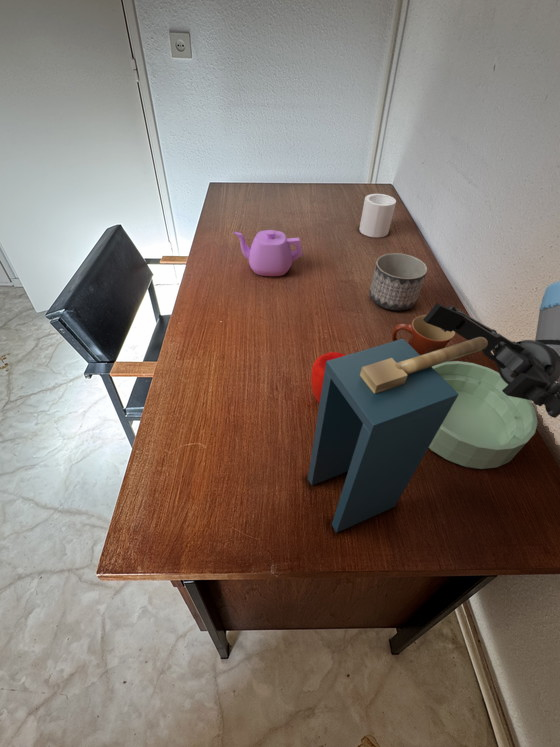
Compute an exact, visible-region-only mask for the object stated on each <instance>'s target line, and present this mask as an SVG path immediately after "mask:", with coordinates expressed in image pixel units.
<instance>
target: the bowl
mask: <svg viewBox="0 0 560 747" xmlns="http://www.w3.org/2000/svg"><path fill="white" fill-rule="evenodd" d="M432 368H433V369H434V370H435V371H436V372H437V373H438V374H439V375H440V376H441V377H442V378H443V379H444V380H445V381H446V382H447V383H448V384H449V385H450V386H451V387H452V388H453V389H454V390H455V391H456V392H457V393H458V394H459V395H458V397H457V399H456V400H455V402H454V404H453V405H452V407H451V409H450V411H449V412H448V414H447V416H446V418H445V419H444V421H443V423H442V425H441V427H440V428H439V430H438V432H437V434H436V435H435V437H434V439H433V441H432V442H431V444H430V446H429V448H428V449H429V450H430V451H432V452H434V453H435V454H437V455H438V456H439V457H442V458H443V459H445V460H446V461H449V462H451V463H454V464H455V465H456V464H457V465H459V466H462V467H465V468H471V469H479V470H485V469H494V468H499V467H501V466H503V465H506V464H509V463H510V462H511V461H512V460H513V459H514V458H515V457H516V455H517V454H518V453H519V452H520V451H521V450H522V449H523V448H524V447H525V445H526V444H527V443H528V442H529V441H530V440H531V439H532V437H533V436H534V435H535V434H536V432H537V427H538V423H539V421H538V416H537V412H536V411H537V410H536V408H535V406H534V405H533V404H534V403H532V401H531V400H527V399H522V398H517V397H511V396H507V395H506V394H505V393H504V392H502V390H503V389H504V388H505V387H506V386H507V385H508V384H507V383H505V382H504V380H503V379H502V378H501V376H500V374H499V371H496V370H494V369H492V368H490V367H488V366H484V365H480V364H477V363H474V362H468V361H460V360H450V361H447V362H444V363H441V364H438V365H435V366H432Z"/></svg>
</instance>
